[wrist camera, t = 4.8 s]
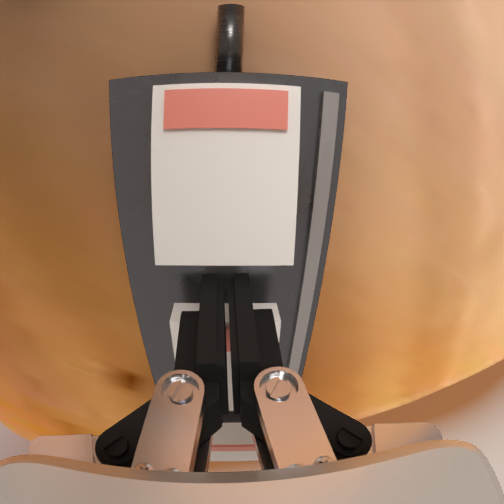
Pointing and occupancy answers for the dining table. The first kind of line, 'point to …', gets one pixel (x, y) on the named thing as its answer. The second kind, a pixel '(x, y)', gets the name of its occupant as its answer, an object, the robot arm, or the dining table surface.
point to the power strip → (261, 277)
